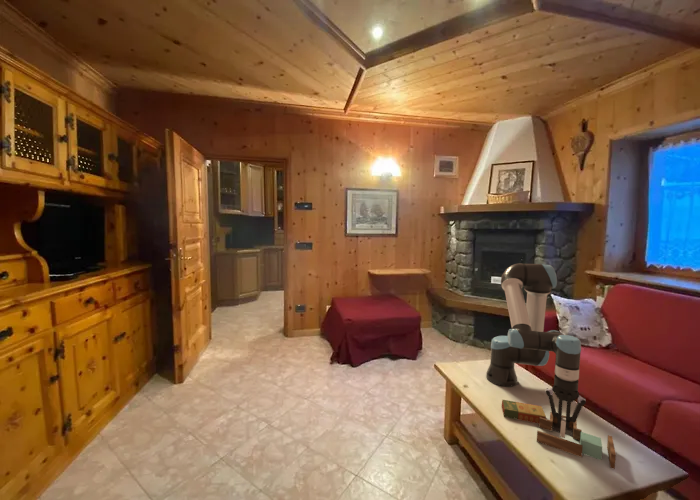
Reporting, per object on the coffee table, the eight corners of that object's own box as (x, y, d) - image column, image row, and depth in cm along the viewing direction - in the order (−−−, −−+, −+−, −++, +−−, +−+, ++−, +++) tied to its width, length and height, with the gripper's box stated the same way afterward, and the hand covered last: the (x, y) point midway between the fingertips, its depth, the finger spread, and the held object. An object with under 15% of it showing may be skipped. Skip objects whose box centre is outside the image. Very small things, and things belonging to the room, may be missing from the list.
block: (580, 444, 119) (580, 431, 118) (600, 450, 115) (600, 437, 115) (580, 453, 114) (581, 440, 114) (601, 460, 110) (602, 447, 110)
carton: (545, 426, 130) (546, 416, 129) (503, 417, 135) (503, 408, 135) (541, 414, 138) (541, 405, 137) (501, 407, 143) (501, 398, 143)
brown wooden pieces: (540, 417, 135) (541, 406, 134) (609, 439, 121) (610, 426, 121) (536, 441, 120) (537, 429, 119) (614, 469, 106) (615, 455, 106)
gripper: (545, 375, 119) (542, 434, 121) (588, 386, 111) (583, 448, 113) (546, 368, 125) (543, 424, 127) (587, 377, 117) (583, 436, 119)
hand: (562, 435), depth 120 cm, fingers closed
